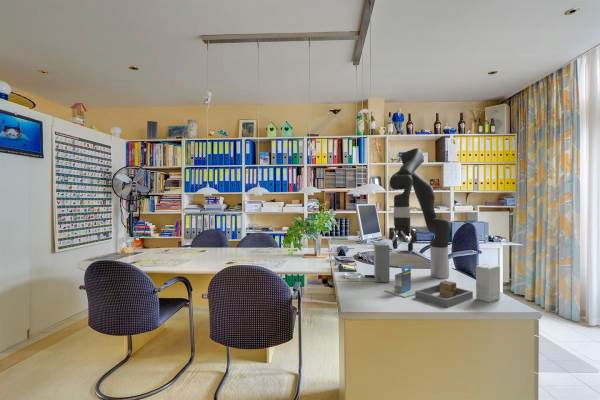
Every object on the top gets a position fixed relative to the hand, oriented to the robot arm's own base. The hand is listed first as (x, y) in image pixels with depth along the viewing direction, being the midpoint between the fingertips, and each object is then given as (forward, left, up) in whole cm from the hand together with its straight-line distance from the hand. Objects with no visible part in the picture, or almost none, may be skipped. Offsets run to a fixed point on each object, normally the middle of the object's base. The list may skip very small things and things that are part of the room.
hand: (402, 249), depth 141 cm
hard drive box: (-10, -22, -20) cm, 32 cm away
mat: (0, 0, -20) cm, 20 cm away
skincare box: (-22, +28, -20) cm, 41 cm away
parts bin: (-8, +16, -20) cm, 27 cm away
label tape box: (0, 0, -20) cm, 20 cm away
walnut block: (-13, +15, -20) cm, 28 cm away
